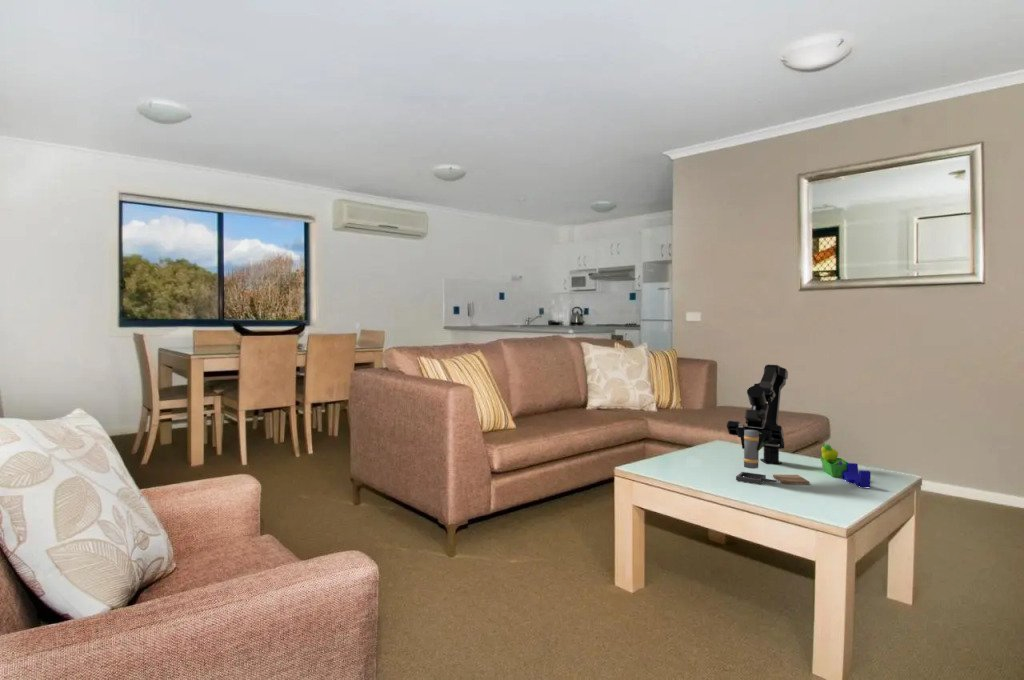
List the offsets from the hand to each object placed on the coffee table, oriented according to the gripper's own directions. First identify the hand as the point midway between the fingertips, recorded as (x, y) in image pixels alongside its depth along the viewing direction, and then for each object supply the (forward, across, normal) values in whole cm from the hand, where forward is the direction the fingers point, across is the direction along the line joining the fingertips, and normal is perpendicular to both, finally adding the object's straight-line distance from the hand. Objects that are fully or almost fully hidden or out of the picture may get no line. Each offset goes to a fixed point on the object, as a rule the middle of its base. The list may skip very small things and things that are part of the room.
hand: (750, 449), depth 207 cm
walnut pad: (+2, +12, +14) cm, 19 cm away
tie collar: (+7, +2, +9) cm, 12 cm away
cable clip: (-5, +31, +22) cm, 38 cm away
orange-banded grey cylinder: (+4, 0, +6) cm, 7 cm away
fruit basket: (-12, +23, +28) cm, 38 cm away
